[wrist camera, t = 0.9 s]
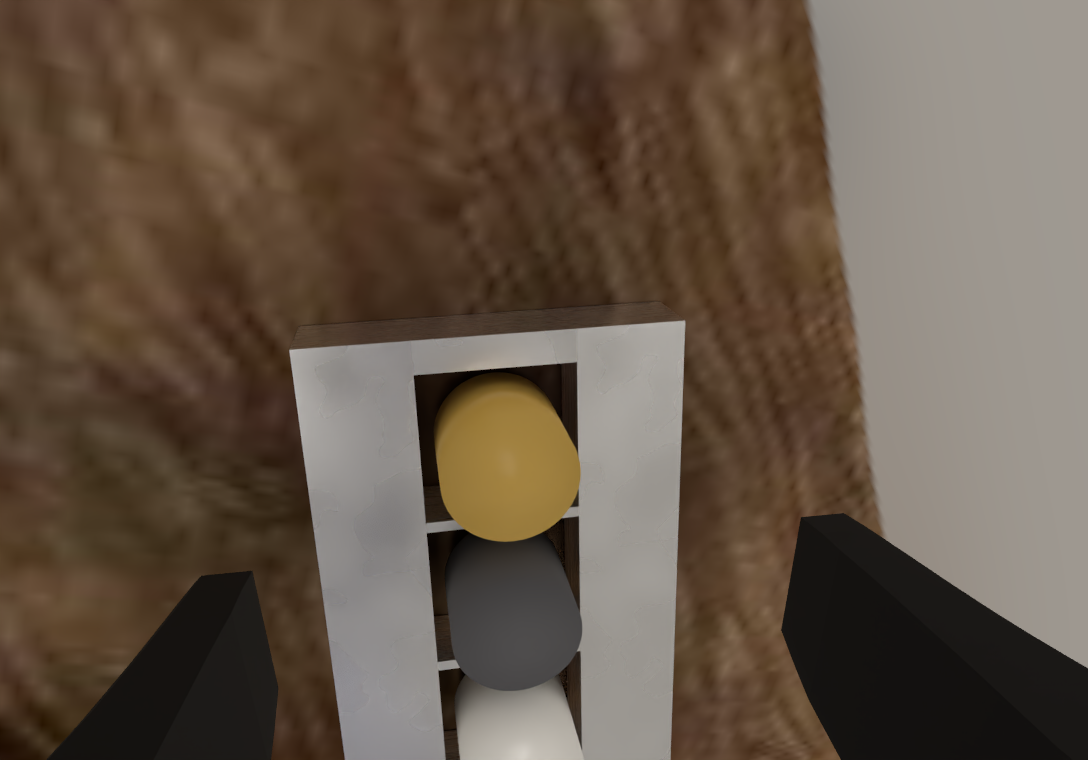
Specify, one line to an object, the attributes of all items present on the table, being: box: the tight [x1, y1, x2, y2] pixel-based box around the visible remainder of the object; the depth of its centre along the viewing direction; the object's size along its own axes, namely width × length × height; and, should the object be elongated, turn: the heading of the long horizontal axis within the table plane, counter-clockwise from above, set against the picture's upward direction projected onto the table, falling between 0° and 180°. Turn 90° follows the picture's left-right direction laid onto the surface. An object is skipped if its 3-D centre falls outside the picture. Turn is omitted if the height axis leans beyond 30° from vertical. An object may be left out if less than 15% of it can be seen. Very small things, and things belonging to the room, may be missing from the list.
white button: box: [454, 674, 584, 760], centre depth 24 cm, size 3×3×3 cm
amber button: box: [434, 372, 581, 542], centre depth 21 cm, size 3×3×3 cm
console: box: [289, 301, 685, 760], centre depth 24 cm, size 15×10×2 cm, turn 2°
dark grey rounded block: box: [445, 532, 582, 691], centre depth 22 cm, size 3×3×3 cm
